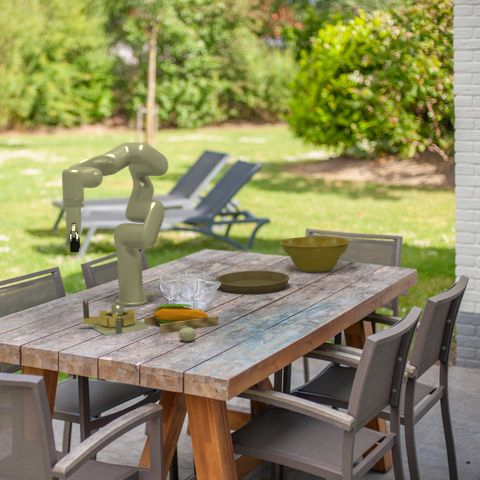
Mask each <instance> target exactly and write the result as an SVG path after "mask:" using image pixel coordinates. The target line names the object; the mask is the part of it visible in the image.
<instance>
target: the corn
mask: <svg viewBox="0 0 480 480" xmlns="http://www.w3.org/2000/svg"><path fill="white" fill-rule="evenodd" d="M191 307H192V305H190V304H186V303H165V304H161V305H160V306H157V308H155V310H154V311H153V316H154V317H155V319H156V320H158V321H159V322H161V323H163V324H166V323H172V322H179V321H185V320H192V319H204V318H207V317H209V316H208V314H207V313H206V312H204V311H203V310H201V311H200V310H197V308H191Z"/></svg>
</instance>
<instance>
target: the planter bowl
mask: <svg viewBox="0 0 480 480" xmlns="http://www.w3.org/2000/svg"><path fill="white" fill-rule="evenodd" d="M350 243H351V240H350V239H347V238H344V237H336V236H302V237H291V238H290V237H289V238H286V239H282V240H280V241H279V243H278V244H280V245H281V246H282V248H283V251H284V252H285V254H287V255H288V256H290V258H291V260H292V262H293V264H294V266H295V267H296V269H298V270H299V271H300V272H307V273H323V272H324V273H325V272H329V271H331V270H332V269H333V268H335V266H337V263H338V261H339V260H340V257H341V256H342V254H344V253H345V252H346V250H347V248H348V247H349V244H350Z"/></svg>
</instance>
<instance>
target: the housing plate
mask: <svg viewBox="0 0 480 480" xmlns="http://www.w3.org/2000/svg"><path fill="white" fill-rule="evenodd" d="M110 306H111V307H110V311H112V314H113V313H118V317H121V316H123V310H124V306H123V305H122V304H116V303H114V304H111V305H110ZM112 317H113V316H112ZM115 321H116V327H109V326H108V327H107V326H103V325H100V324H87V325H88V327H89V328H92V329H93V330H95V332H98V333H100V334H102V335H103V336H109V335H115V334H116V335H118V334H123V333H130V332H136V331H143V330H147V329H149V326H148V324H146V323H145V322H144V321H141V320H139V319H137V318H136V322H135V323H133V324H131V325H127V326H122V320H121V319H117V320H115Z"/></svg>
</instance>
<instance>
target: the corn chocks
mask: <svg viewBox="0 0 480 480" xmlns="http://www.w3.org/2000/svg"><path fill="white" fill-rule="evenodd" d="M196 310H200V311H202V309H200V308H198V309H197V308H196ZM143 318H144V320H143V322H144V323H146V324H148V327H150V326H155V325H159V333H160V334H161V335H163V334H169V333H175V332H179V331H180V330H181V329H183V328H186V327H183V328H182V326H187V327H190V328H192V329H194V330H195V329H199V328H205V327H212V326H213V327H214V326H218V325H219V316H218V315H212V316H207V318H204V319H192V320H185V321H179V322H172V323H166V324H164V323H161V322H159V321H158V320H156V319H155V317H154V315H151V316H144V317H143Z"/></svg>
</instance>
